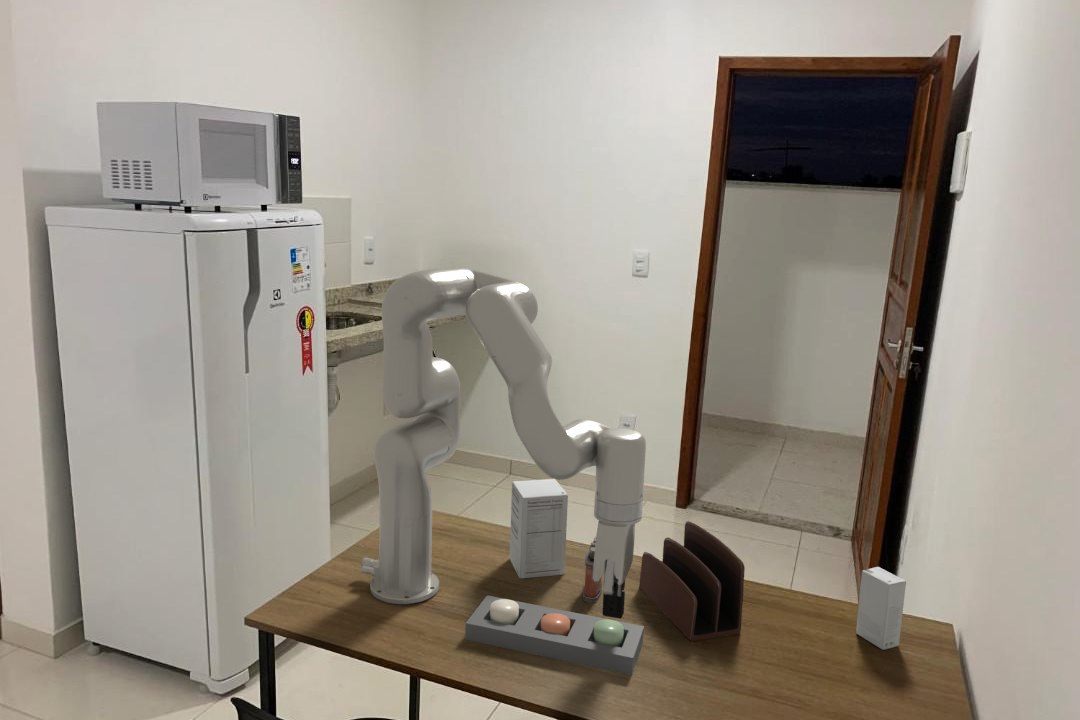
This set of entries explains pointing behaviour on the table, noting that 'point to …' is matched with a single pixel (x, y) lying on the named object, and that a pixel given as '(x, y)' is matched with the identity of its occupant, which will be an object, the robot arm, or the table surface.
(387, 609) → the table surface
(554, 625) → the terracotta button
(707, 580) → the letter holder
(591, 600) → the lighter
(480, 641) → the button panel
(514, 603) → the cream button
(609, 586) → the robot arm
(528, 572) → the supplement box
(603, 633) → the sage button
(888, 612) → the skincare box
